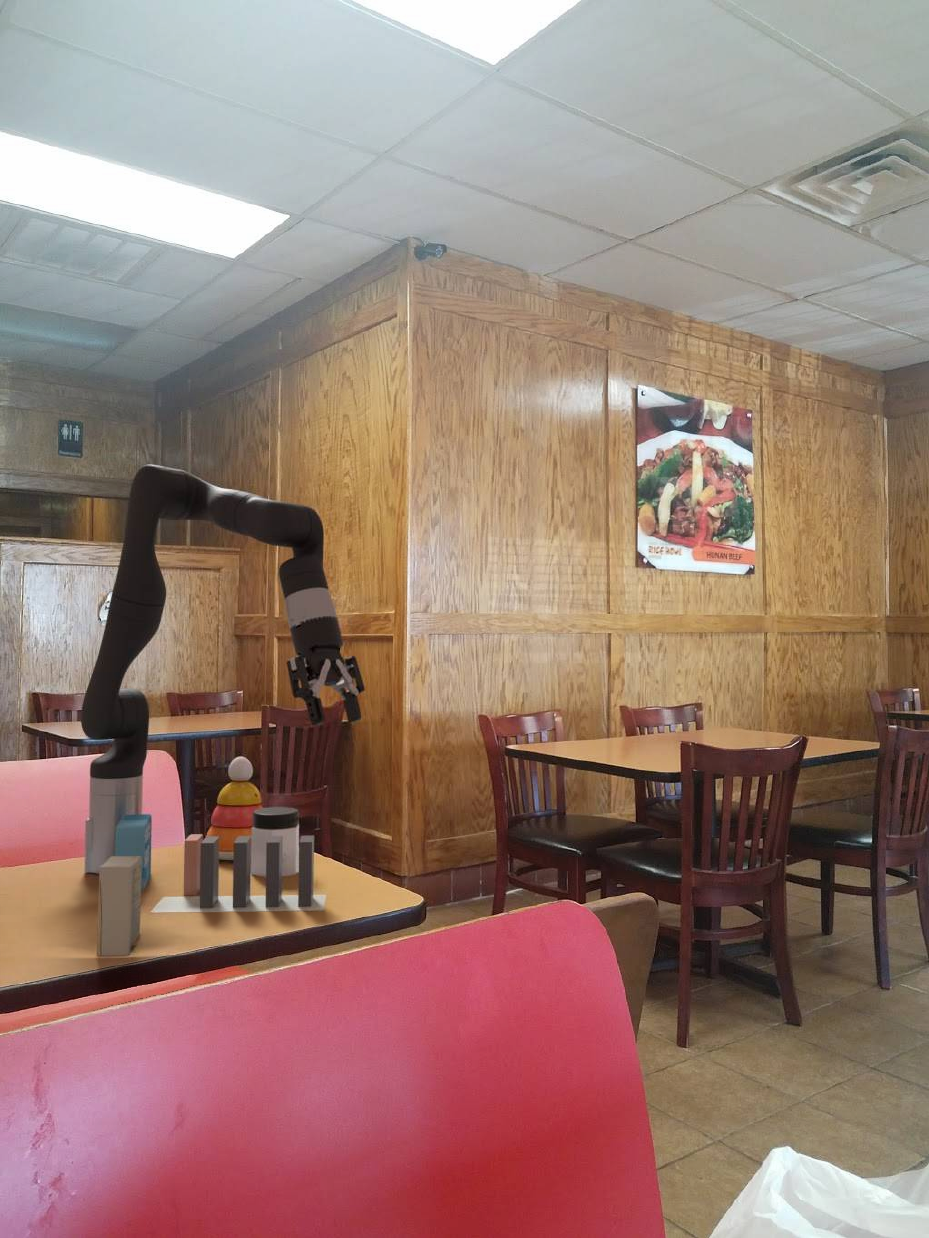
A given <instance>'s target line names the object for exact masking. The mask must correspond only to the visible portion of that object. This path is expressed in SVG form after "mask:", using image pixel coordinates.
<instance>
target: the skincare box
mask: <svg viewBox="0 0 929 1238" xmlns="http://www.w3.org/2000/svg"><path fill="white" fill-rule="evenodd" d="M98 875H99V876H98V879H99V880H98V901H97V903H98V906H97V907H98V908H97V933H96V934H97V935H96V936H97V940H96V941H97V942H96V956H97V957H118V956H119V957H128V956H129V955H131V953H133V951H134V950H135V948H136V947H137V946H138V945H137V944H135V945H134V942H136V940H137V939H138V937H139V936H140V934H141V913H142V912H141V906H142V903H141V902H142V891H141V877H142V856H111V857H110V858H109V859H108V860H106V861H105V862H104V863H103V864H102V865H101V866H100V870H99V874H98Z"/></svg>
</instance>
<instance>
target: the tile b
mask: <svg viewBox="0 0 929 1238" xmlns="http://www.w3.org/2000/svg"><path fill="white" fill-rule="evenodd" d="M219 863H220V859H219V836H209V837H206V836H205V838H203V841H202V842H201V858H200V890H199V896H200V908H213V907H214V906H215V904H216V902H217V901H218V896H219V879H220V878H219V875H220V873H219V871H220V870H219V869H220V868H219V867H220V866H219V865H220V864H219Z"/></svg>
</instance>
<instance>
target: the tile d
mask: <svg viewBox="0 0 929 1238" xmlns="http://www.w3.org/2000/svg"><path fill="white" fill-rule="evenodd" d="M282 849H283V836H270V837H269V839H268V841H267V842H266V877H265V895H266V907H279V905H280V902H281V899H282V895H283V876H282Z"/></svg>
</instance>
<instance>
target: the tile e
mask: <svg viewBox="0 0 929 1238" xmlns="http://www.w3.org/2000/svg"><path fill="white" fill-rule="evenodd" d="M314 861H315V835H301V836H300V837H299V860H298V882H297V883H298V885H297V886H298V892H297V893H298V894H297V895H298V907H311V905H312V901H313V895H314V873H315V871H314V869H315V867H314V866H315V862H314Z"/></svg>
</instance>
